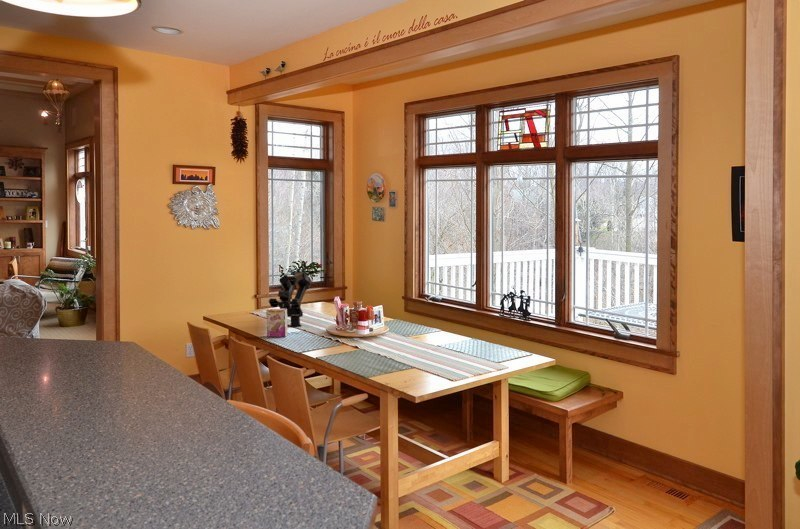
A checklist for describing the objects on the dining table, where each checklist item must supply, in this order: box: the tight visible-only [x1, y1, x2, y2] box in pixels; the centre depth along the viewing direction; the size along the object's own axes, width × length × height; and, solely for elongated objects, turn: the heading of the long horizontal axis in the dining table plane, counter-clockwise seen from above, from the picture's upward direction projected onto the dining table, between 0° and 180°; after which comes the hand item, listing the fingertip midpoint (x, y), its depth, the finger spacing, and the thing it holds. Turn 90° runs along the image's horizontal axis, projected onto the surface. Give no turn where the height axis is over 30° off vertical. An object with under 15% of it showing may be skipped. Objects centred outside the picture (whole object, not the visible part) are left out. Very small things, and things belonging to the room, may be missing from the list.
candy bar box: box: [266, 308, 289, 338], centre depth 378 cm, size 11×5×16 cm, turn 84°
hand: (281, 314), depth 385 cm, fingers closed
